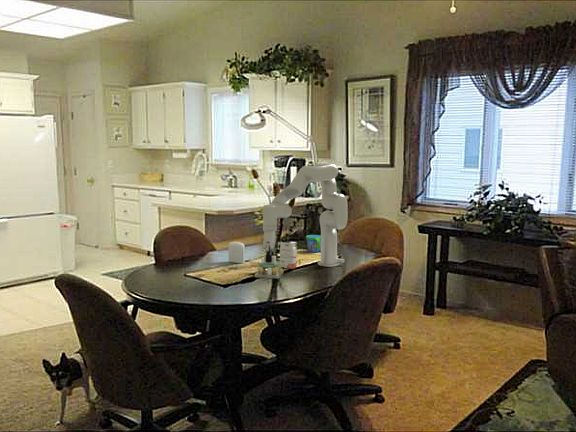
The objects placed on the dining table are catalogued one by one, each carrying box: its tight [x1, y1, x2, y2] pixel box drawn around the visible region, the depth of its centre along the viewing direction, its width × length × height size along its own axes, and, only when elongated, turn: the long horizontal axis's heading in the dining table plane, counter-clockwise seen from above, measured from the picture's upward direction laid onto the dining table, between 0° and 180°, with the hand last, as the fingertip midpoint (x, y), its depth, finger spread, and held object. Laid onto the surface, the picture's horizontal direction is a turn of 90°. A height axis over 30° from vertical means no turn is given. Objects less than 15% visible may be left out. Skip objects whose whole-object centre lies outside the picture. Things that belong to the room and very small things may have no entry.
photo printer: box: [227, 241, 246, 264], centre depth 331 cm, size 10×4×12 cm, turn 61°
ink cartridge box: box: [279, 241, 297, 270], centre depth 320 cm, size 9×5×15 cm, turn 62°
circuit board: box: [258, 254, 280, 268], centre depth 303 cm, size 12×10×5 cm
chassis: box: [254, 259, 285, 279], centre depth 303 cm, size 14×13×7 cm
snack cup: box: [305, 234, 321, 253], centre depth 366 cm, size 16×10×10 cm
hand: (269, 260), depth 303 cm, fingers open, 5 cm apart
